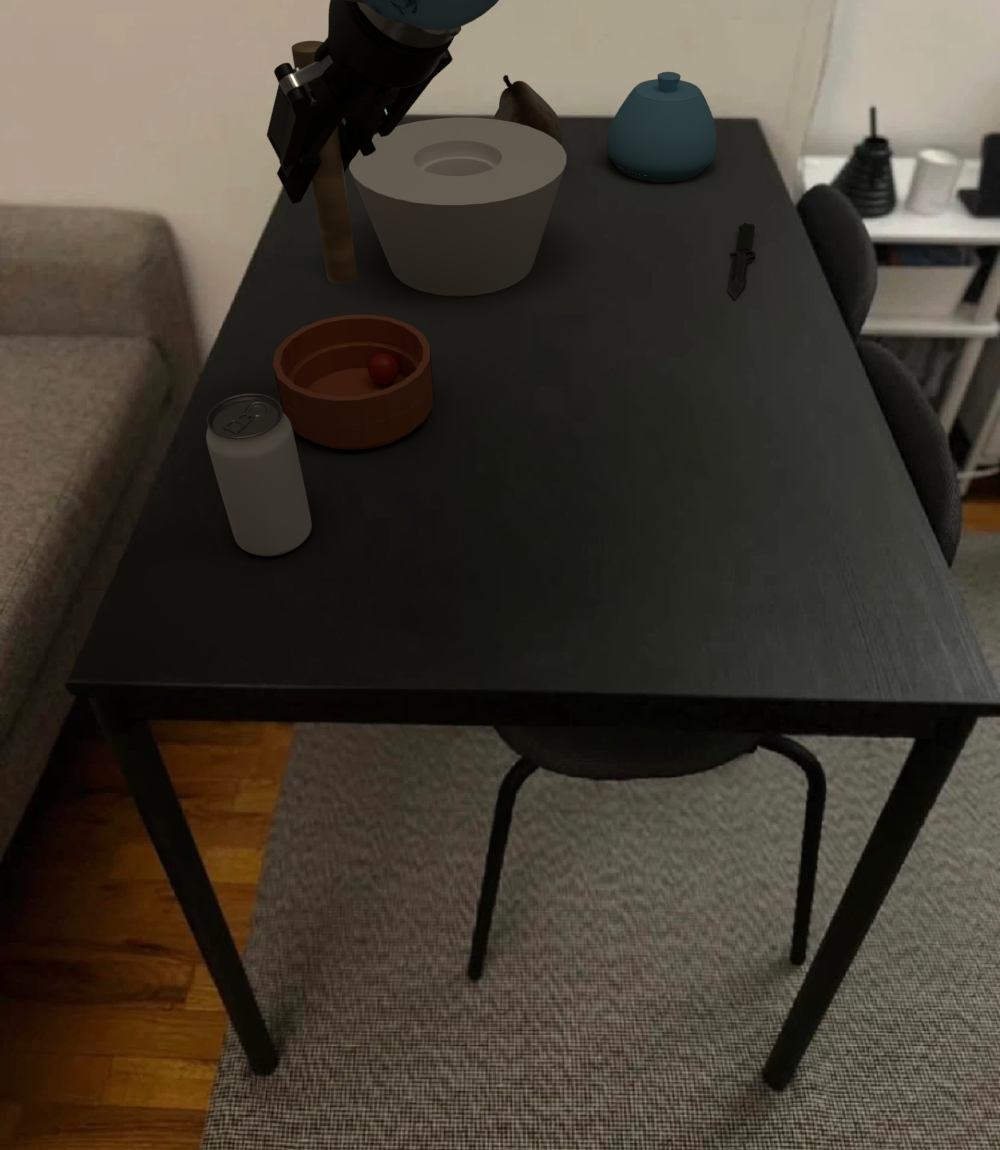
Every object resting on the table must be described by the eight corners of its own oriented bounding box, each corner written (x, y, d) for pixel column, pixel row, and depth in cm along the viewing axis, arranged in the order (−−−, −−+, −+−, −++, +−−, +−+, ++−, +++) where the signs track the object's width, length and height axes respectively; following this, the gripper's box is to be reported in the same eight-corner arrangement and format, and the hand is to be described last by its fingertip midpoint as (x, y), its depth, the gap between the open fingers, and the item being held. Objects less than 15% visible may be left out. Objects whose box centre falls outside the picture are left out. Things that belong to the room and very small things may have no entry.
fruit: (481, 160, 132) (478, 68, 124) (540, 148, 135) (542, 57, 127) (512, 187, 126) (512, 92, 117) (573, 175, 129) (578, 81, 120)
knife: (734, 221, 116) (759, 220, 115) (734, 227, 117) (759, 227, 116) (722, 296, 104) (750, 296, 103) (722, 303, 105) (749, 303, 104)
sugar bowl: (730, 179, 127) (745, 88, 119) (625, 191, 125) (633, 99, 116) (689, 138, 137) (701, 51, 129) (592, 148, 135) (597, 61, 127)
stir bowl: (253, 421, 89) (240, 367, 85) (350, 352, 98) (343, 300, 93) (370, 473, 84) (362, 418, 79) (463, 395, 92) (460, 342, 88)
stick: (320, 279, 80) (283, 47, 67) (340, 266, 82) (308, 38, 69) (343, 287, 79) (310, 53, 66) (363, 274, 81) (334, 44, 68)
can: (328, 524, 79) (306, 406, 71) (276, 570, 75) (246, 451, 67) (271, 497, 82) (242, 381, 73) (218, 541, 78) (181, 423, 69)
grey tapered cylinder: (572, 221, 119) (576, 122, 110) (550, 319, 102) (554, 211, 93) (387, 210, 121) (378, 113, 113) (337, 304, 105) (322, 198, 96)
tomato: (363, 384, 92) (359, 358, 90) (382, 370, 94) (379, 343, 92) (387, 393, 91) (384, 367, 89) (405, 379, 93) (403, 352, 91)
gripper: (323, 83, 54) (243, 252, 75) (529, 28, 61) (403, 197, 82) (260, -42, 53) (197, 165, 74) (476, -84, 60) (362, 116, 81)
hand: (305, 181), depth 78 cm, fingers closed on stick, 2 cm apart
